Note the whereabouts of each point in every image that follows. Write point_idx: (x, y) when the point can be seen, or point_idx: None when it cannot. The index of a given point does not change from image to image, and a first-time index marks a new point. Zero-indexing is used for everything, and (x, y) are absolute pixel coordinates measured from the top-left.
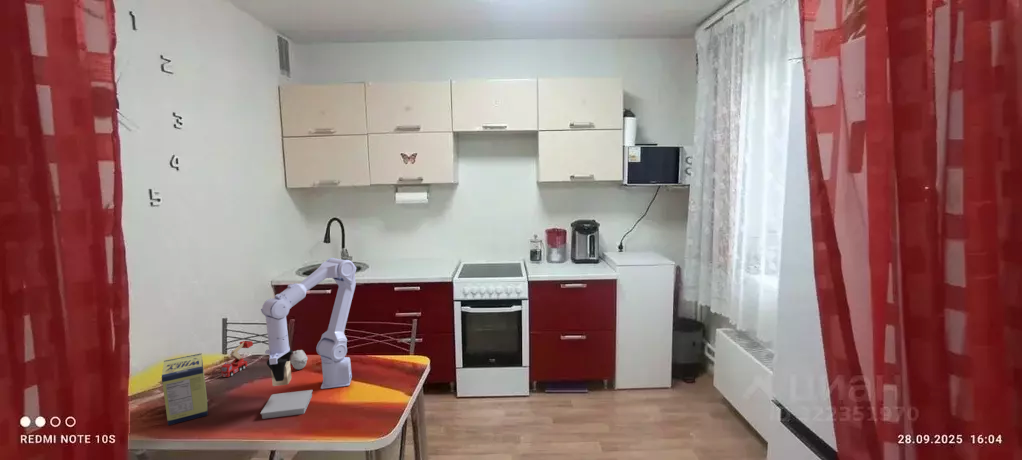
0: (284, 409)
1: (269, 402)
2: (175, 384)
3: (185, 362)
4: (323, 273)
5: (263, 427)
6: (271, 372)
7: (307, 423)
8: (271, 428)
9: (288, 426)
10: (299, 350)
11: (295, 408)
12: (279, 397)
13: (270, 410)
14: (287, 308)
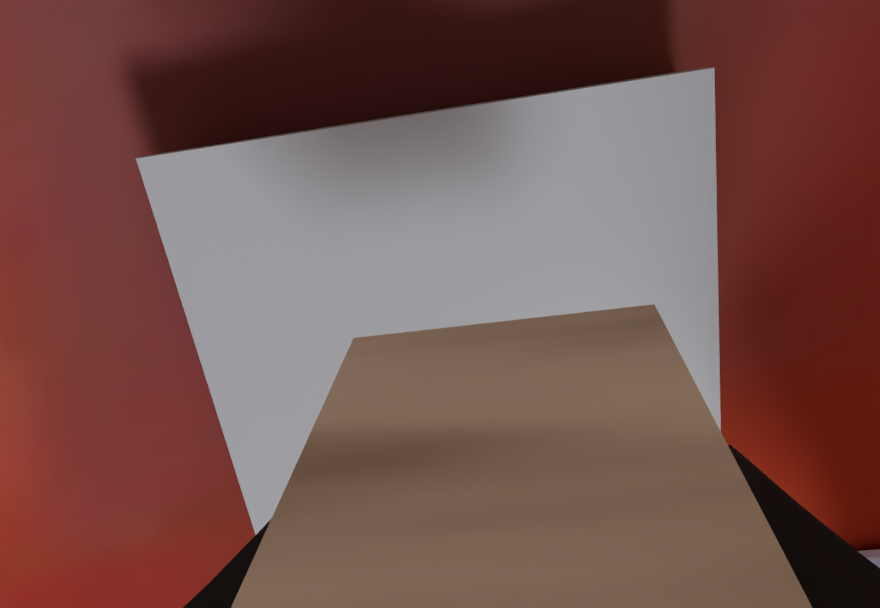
0: (241, 411)
1: (437, 147)
2: None
3: None
4: None
5: (21, 250)
6: (260, 548)
7: (134, 599)
8: (16, 338)
9: (70, 473)
10: None
11: (263, 512)
12: (574, 231)
13: (212, 260)
14: None
